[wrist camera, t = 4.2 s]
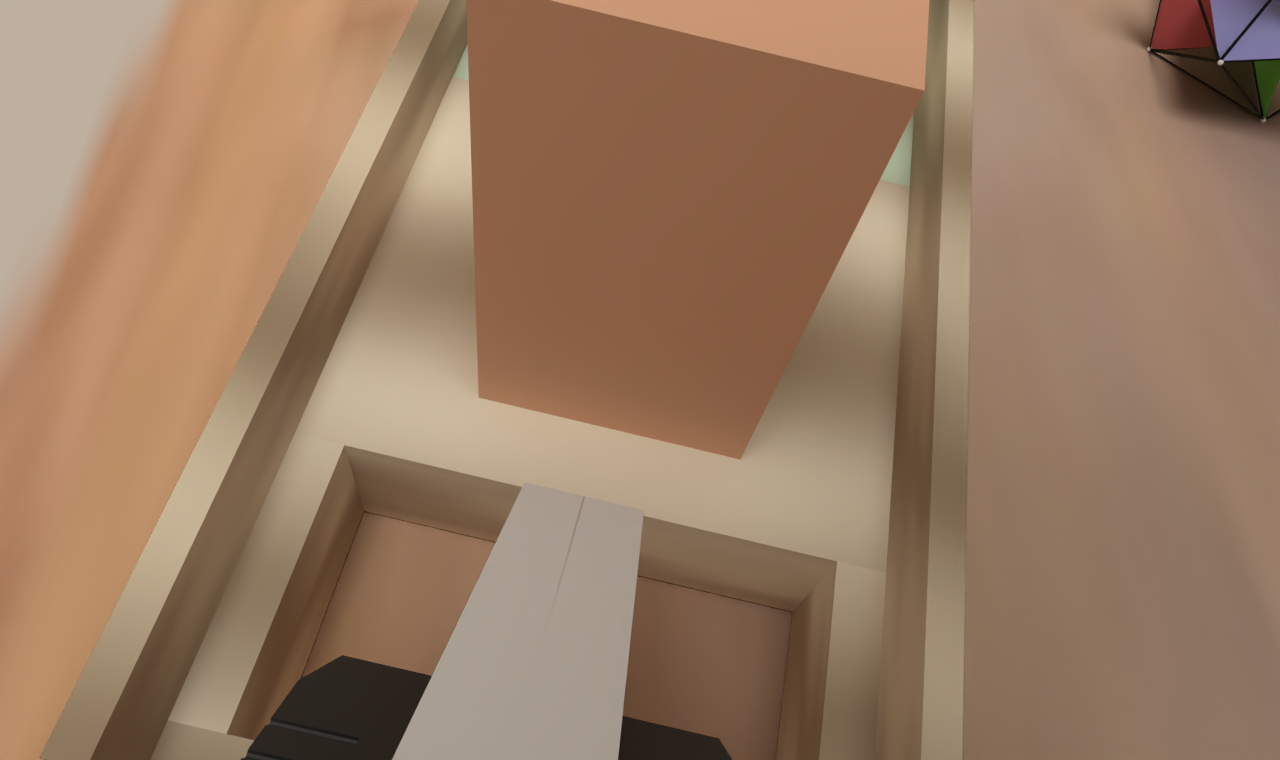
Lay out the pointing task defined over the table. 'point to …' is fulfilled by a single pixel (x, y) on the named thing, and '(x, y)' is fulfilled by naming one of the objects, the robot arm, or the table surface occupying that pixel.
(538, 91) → the block
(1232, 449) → the table surface
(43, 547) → the table surface
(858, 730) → the beige open frame
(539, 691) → the robot arm
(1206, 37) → the icosahedron model
